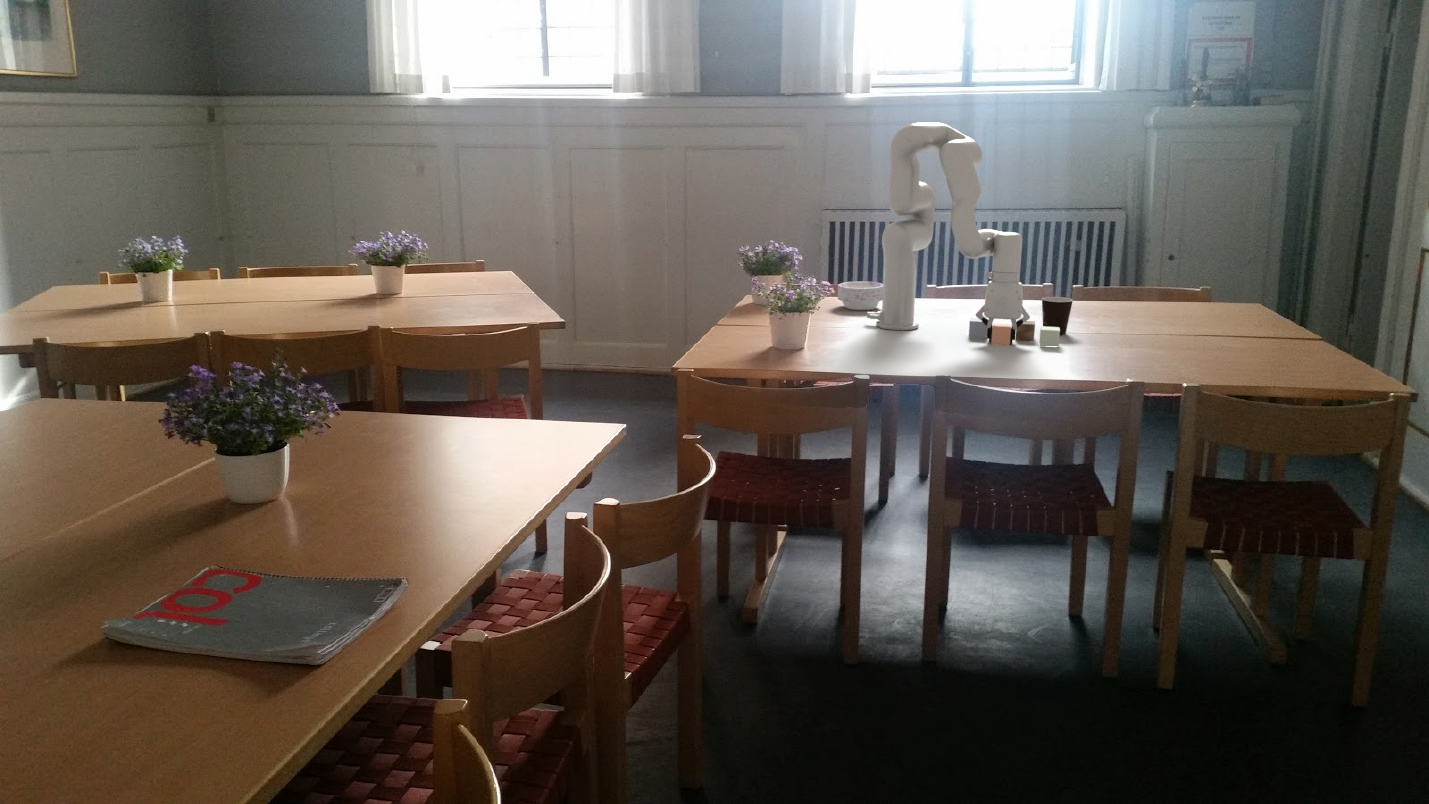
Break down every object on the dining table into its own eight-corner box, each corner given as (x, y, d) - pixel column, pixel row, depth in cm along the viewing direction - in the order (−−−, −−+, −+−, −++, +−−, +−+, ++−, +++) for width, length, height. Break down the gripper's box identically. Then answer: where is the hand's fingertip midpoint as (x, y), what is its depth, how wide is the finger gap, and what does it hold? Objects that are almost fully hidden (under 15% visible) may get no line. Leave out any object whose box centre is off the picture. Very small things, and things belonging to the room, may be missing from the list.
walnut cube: (1015, 340, 315) (1016, 323, 313) (1015, 337, 319) (1016, 320, 318) (1033, 341, 313) (1035, 324, 312) (1033, 338, 318) (1035, 321, 317)
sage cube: (1039, 347, 307) (1040, 329, 305) (1039, 343, 311) (1040, 326, 310) (1058, 348, 305) (1059, 330, 304) (1057, 344, 310) (1059, 327, 309)
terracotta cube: (991, 344, 310) (992, 326, 308) (991, 340, 314) (992, 323, 313) (1009, 345, 309) (1011, 327, 307) (1009, 341, 313) (1011, 324, 312)
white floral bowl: (828, 306, 367) (829, 282, 364) (867, 302, 373) (868, 279, 371) (852, 313, 353) (853, 289, 351) (892, 310, 359) (894, 286, 357)
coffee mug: (1063, 337, 319) (1066, 303, 317) (1034, 333, 324) (1037, 299, 322) (1077, 331, 328) (1080, 297, 326) (1049, 327, 333) (1052, 294, 331)
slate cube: (968, 338, 318) (969, 321, 317) (969, 334, 323) (970, 317, 321) (986, 339, 317) (987, 322, 315) (987, 335, 321) (988, 318, 320)
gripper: (973, 278, 305) (969, 342, 310) (1037, 280, 301) (1032, 346, 306) (974, 274, 312) (970, 337, 317) (1037, 276, 308) (1032, 341, 313)
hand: (1000, 341), depth 311 cm, fingers closed on terracotta cube, 5 cm apart
